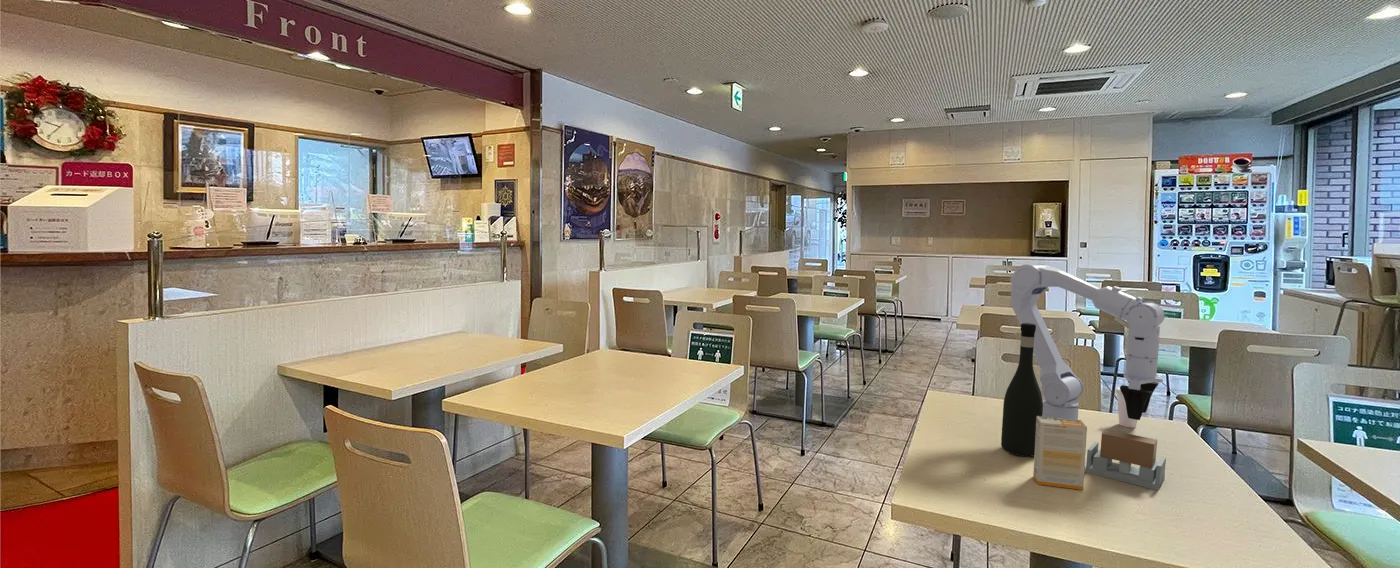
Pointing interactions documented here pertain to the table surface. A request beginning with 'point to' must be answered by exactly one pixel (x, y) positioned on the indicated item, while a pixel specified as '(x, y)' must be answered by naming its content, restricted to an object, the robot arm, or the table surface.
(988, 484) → the table surface
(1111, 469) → the display stand
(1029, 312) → the robot arm
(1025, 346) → the wine bottle
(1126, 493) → the table surface
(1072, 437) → the supplement box
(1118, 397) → the smoothie
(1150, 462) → the brown rectangular block
